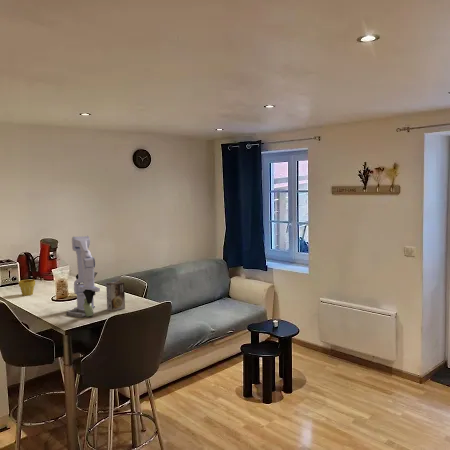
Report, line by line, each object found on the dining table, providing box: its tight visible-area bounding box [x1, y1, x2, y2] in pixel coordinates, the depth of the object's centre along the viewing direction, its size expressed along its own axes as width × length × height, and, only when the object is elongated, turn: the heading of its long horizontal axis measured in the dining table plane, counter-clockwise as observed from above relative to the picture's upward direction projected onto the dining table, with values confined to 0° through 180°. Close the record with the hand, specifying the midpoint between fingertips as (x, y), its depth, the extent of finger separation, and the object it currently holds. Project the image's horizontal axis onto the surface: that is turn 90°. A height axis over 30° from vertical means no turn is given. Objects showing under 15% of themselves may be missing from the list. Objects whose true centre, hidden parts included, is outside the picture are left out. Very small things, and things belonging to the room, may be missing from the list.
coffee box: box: [105, 280, 126, 312], centre depth 263 cm, size 9×6×16 cm
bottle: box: [83, 299, 94, 318], centre depth 247 cm, size 4×4×10 cm
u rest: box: [66, 308, 87, 319], centre depth 251 cm, size 8×12×2 cm, turn 60°
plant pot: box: [18, 279, 36, 297], centre depth 302 cm, size 10×10×10 cm
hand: (89, 303), depth 246 cm, fingers closed
